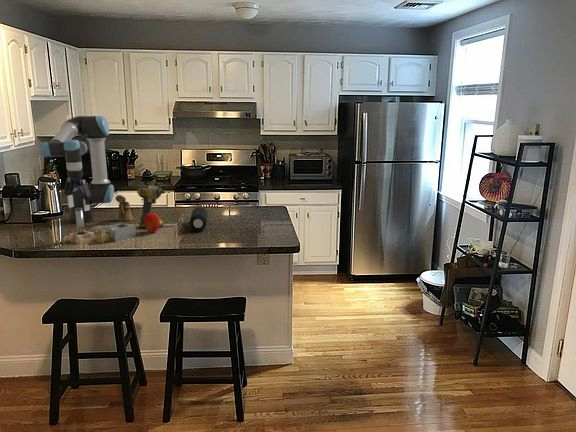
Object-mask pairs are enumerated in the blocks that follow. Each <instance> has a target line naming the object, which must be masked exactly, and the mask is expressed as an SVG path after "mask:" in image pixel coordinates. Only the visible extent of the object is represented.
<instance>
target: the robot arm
mask: <svg viewBox="0 0 576 432" xmlns="http://www.w3.org/2000/svg"><path fill="white" fill-rule="evenodd" d="M109 126H110V125H109V124H108V121H107V119H106V118H105V117H104V116H101V115H86V116H85V115H83V116H82V115H80V116H79V115H78V116H77V115H76V116H73V117H72V118H69V119H67V120H66V121H65V122H63V124H61V127H60V130H58V132H57V133H56V134H55V135H54V137H53V138H52V139H51V140H50V141H49V142H48V141H46V142H42V143H41V144H40V152H41V154H42V156H44V157H51V158H52V157H65V164H66V170H67V171H66V175H67V177H66V178H65V185H64V188H63V189H64V190H63V194H64V195H66V198H67V205H68V208H69V213H68V217H67V219H68V220H67V221H68V222H69V223H76V224H77V222H76V212H75V208H82V209H83V219H84V223H86V222H91V221H93V220H95V215H94V212H93V210H92V208H91V204H110V203H112V201H113V200H114V196H115V195H114V194H115V187H114V185H113V184H111V181H110V180H109V179H108V169H107V158H106V148H105V147H106V146H105V145H106V144H105V141H106V139H107V136H109V135H110V128H109ZM76 136H85V138H86V140H87V141H88V142H89V151H90V152H89V153H90V162H91V175H92V180H91V182H90V184H89V183H88V182H87V180H86V179H82V178H83V176H84V172H83V162H82V156H83V155H84V156H85V154H86V153H87V151H88V145H87V144H86V142H84V141H79V140H78V139H73V138H75V137H76Z"/></svg>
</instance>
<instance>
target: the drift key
mask: <svg viewBox="0 0 576 432" xmlns="http://www.w3.org/2000/svg"><path fill="white" fill-rule="evenodd" d="M95 240H96V243H100V244H104V243H106V242H109V241H111V236H110V233H104V234H102V233H96V234H95Z"/></svg>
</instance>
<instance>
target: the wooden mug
mask: <svg viewBox="0 0 576 432" xmlns="http://www.w3.org/2000/svg"><path fill="white" fill-rule="evenodd" d="M115 200H116V202H117V203H119V204H118V217H117V221H118V222H121V223H124V222H130V221H133V215H132V210H131V204H130V202H128V201H127V199H126V197H125V196H123V195H119V194H118V195H116V196H115Z"/></svg>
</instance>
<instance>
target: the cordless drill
mask: <svg viewBox="0 0 576 432" xmlns="http://www.w3.org/2000/svg"><path fill="white" fill-rule="evenodd" d="M136 193H137V195H138V196H139V197H140V198H141V199H142V200H143V204H142V215H141V217H140V219H139V220H140V222H139V224H138V226H139V227H140V228H144V229H146V228H145V226H144V217H145V215H146V214H150V213H151V211H152V205H153V204H154V205H155V204H157V200H158V199H159V198H160V197H161V196H162V195H164V194H166V193H167V194H169V193H171V192H170V191H166V190H164V189H162V187H159V186H155V185H144V184H143V185H139V186H138V187H137V189H136ZM159 218H160V217H159ZM164 223H165V222H164V220H163V219H162V218H160V224H159V228H162V227H164ZM159 228H158V229H159Z"/></svg>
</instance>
